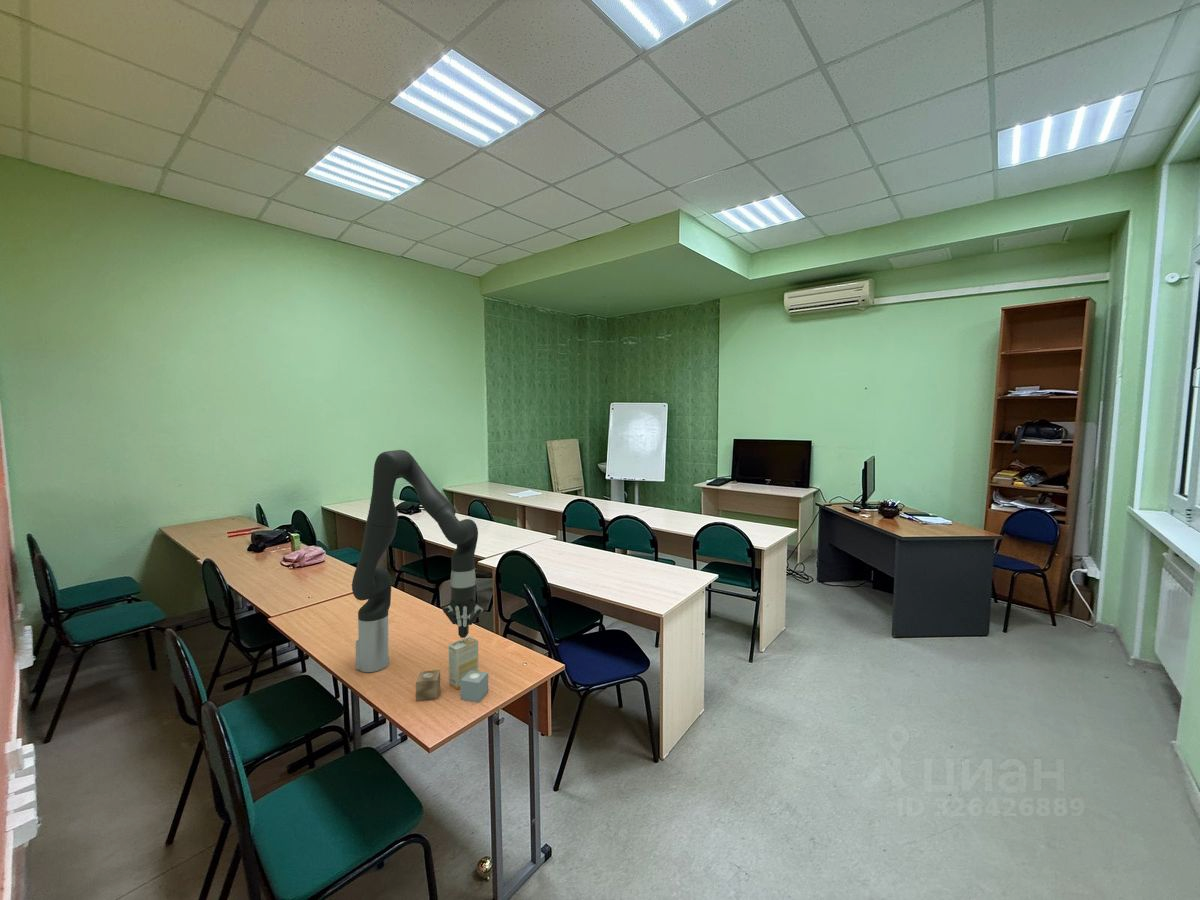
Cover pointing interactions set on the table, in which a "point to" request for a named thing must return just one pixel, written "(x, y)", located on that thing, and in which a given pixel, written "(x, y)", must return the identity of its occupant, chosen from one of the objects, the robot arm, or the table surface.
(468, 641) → the supplement box
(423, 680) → the walnut block
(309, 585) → the table surface
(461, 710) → the table surface
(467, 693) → the slate block
